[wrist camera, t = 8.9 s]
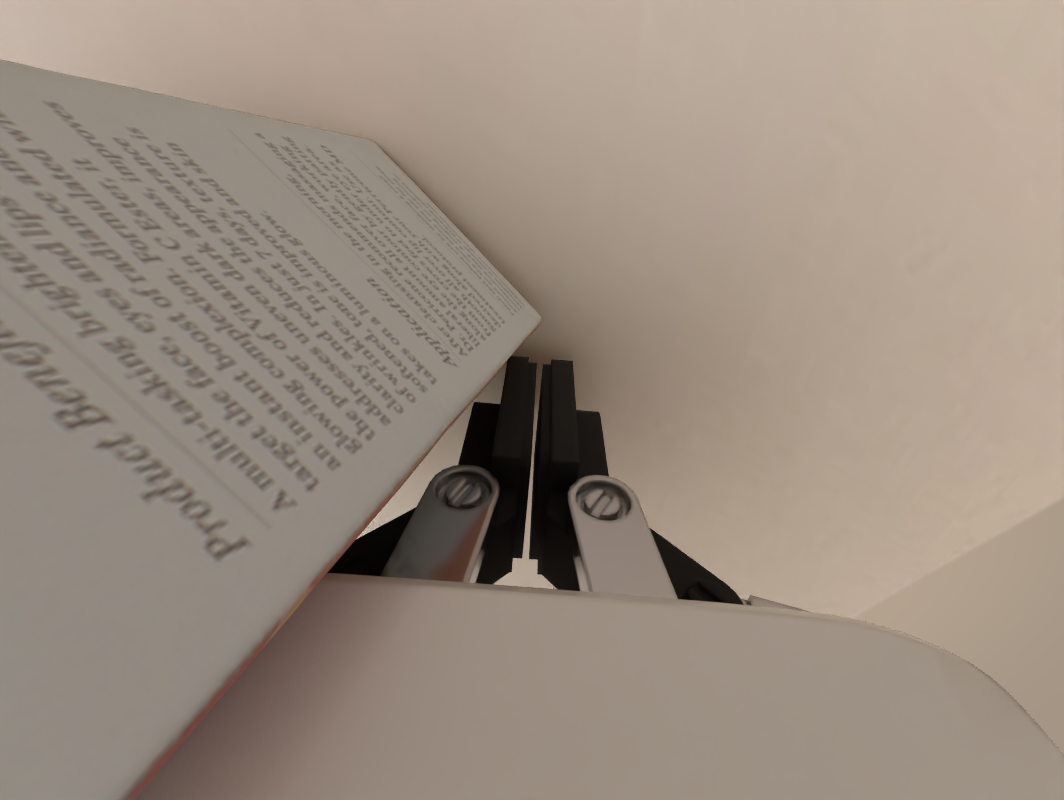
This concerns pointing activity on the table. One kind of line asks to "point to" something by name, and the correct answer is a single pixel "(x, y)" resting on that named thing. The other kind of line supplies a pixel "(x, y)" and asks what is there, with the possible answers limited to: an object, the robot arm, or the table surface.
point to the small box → (199, 401)
